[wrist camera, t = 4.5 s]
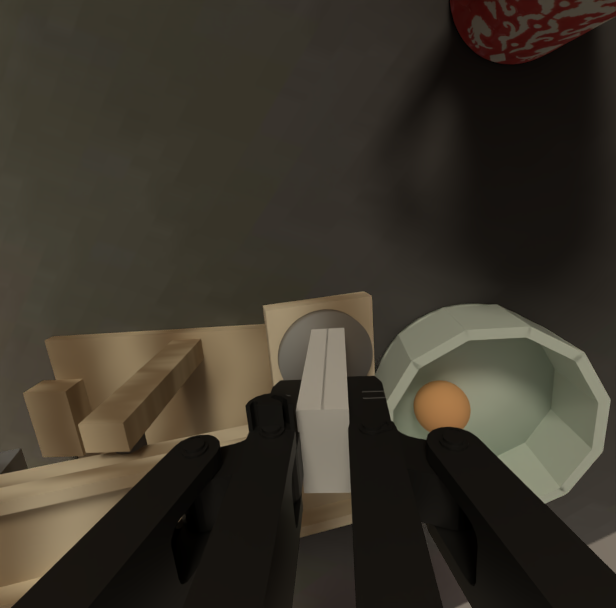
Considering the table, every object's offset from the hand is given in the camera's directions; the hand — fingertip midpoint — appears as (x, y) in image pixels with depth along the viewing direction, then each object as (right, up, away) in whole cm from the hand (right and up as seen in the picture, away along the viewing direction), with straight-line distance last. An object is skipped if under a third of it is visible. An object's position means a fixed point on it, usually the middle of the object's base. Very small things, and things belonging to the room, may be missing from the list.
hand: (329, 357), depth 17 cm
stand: (-11, -5, +11) cm, 16 cm away
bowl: (+10, -3, +9) cm, 14 cm away
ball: (+7, -4, +7) cm, 11 cm away
